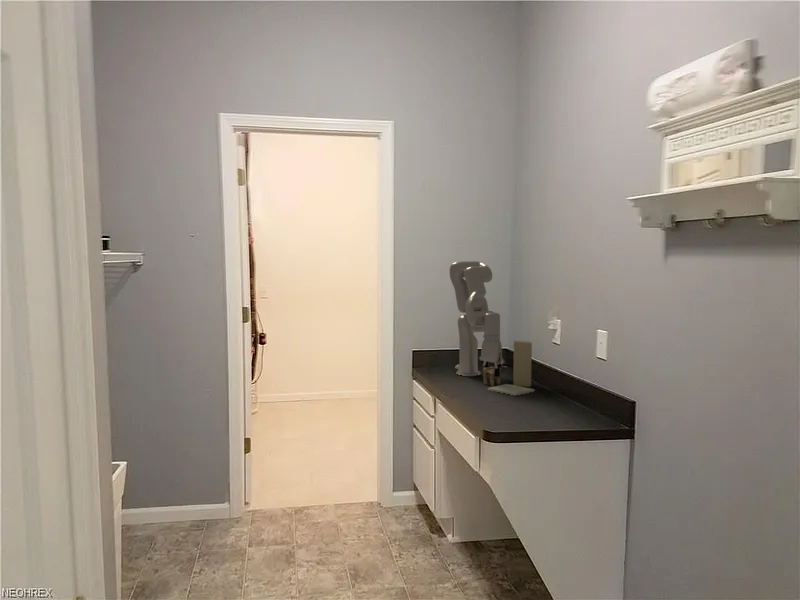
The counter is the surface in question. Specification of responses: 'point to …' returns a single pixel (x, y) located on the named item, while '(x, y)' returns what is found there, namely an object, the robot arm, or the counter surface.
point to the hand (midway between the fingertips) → (491, 375)
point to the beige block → (522, 363)
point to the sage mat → (511, 389)
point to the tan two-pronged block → (492, 372)
